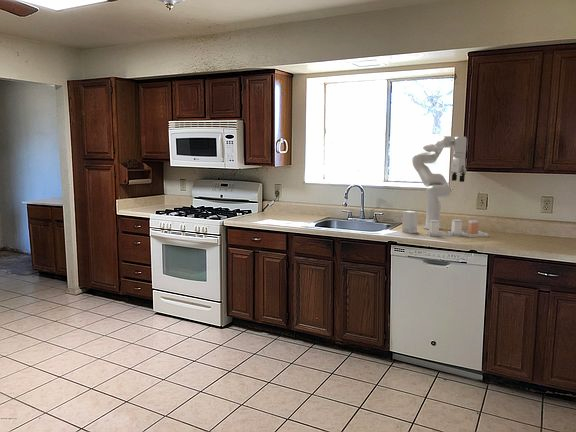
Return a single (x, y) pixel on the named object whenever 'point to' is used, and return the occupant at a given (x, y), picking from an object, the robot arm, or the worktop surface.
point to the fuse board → (450, 234)
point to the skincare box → (409, 222)
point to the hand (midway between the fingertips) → (457, 181)
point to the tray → (474, 234)
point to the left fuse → (434, 227)
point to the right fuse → (456, 227)
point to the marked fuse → (473, 227)
